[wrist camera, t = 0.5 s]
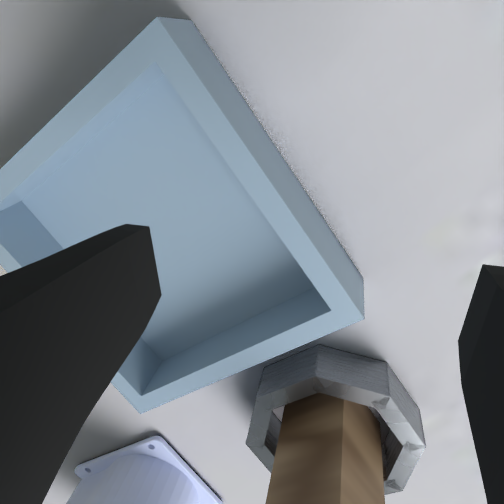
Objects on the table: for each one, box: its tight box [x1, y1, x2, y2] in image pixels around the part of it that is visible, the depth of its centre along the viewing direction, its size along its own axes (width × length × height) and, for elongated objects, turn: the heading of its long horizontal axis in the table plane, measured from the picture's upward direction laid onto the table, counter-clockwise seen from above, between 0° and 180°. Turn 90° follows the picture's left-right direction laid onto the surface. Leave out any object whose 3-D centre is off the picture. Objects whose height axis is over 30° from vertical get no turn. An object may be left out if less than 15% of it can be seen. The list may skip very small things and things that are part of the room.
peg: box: [266, 393, 385, 504], centre depth 22 cm, size 4×4×8 cm
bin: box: [0, 17, 364, 414], centre depth 21 cm, size 14×14×4 cm
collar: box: [246, 344, 426, 495], centre depth 24 cm, size 9×9×2 cm
